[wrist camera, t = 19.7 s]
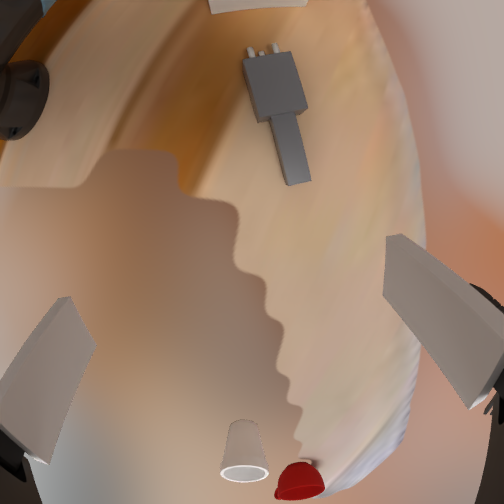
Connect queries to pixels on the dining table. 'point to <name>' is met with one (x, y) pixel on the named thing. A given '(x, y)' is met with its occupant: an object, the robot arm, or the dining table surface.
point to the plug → (279, 107)
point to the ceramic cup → (299, 482)
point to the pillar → (251, 4)
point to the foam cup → (244, 454)
